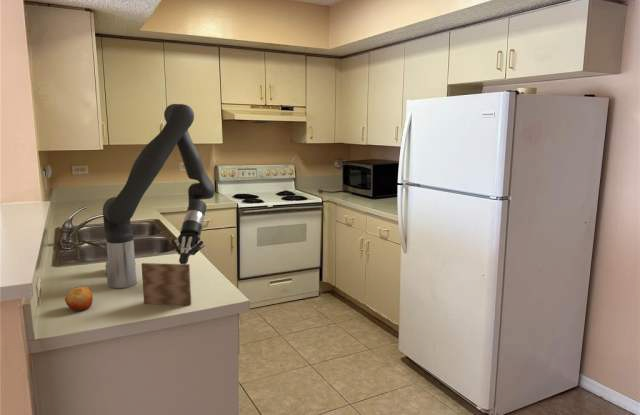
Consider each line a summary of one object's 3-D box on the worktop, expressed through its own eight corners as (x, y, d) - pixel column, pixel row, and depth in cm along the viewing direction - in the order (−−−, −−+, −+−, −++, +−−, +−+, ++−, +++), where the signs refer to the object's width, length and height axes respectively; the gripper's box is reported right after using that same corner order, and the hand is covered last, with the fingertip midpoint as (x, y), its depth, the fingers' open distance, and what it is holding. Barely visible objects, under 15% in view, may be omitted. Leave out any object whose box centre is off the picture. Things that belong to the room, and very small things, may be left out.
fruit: (100, 297, 153) (93, 282, 148) (92, 317, 147) (84, 302, 142) (76, 297, 153) (68, 282, 148) (67, 317, 147) (58, 302, 142)
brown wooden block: (144, 303, 152) (141, 264, 149) (151, 297, 158) (149, 258, 155) (190, 305, 151) (188, 265, 149) (196, 298, 157) (194, 259, 154)
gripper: (173, 218, 173) (161, 258, 163) (207, 219, 172) (197, 259, 162) (179, 229, 179) (168, 268, 169) (211, 230, 178) (202, 269, 168)
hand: (182, 263), depth 165 cm, fingers closed
